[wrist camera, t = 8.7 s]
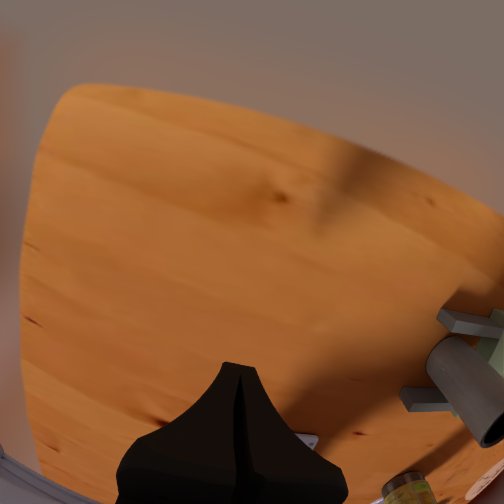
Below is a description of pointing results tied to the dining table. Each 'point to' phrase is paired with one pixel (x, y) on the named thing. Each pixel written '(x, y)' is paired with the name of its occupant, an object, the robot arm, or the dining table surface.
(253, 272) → the dining table surface
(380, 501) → the mobile phone
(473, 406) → the grey hollow tube
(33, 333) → the dining table surface
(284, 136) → the dining table surface
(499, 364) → the mount
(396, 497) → the sauce bottle
